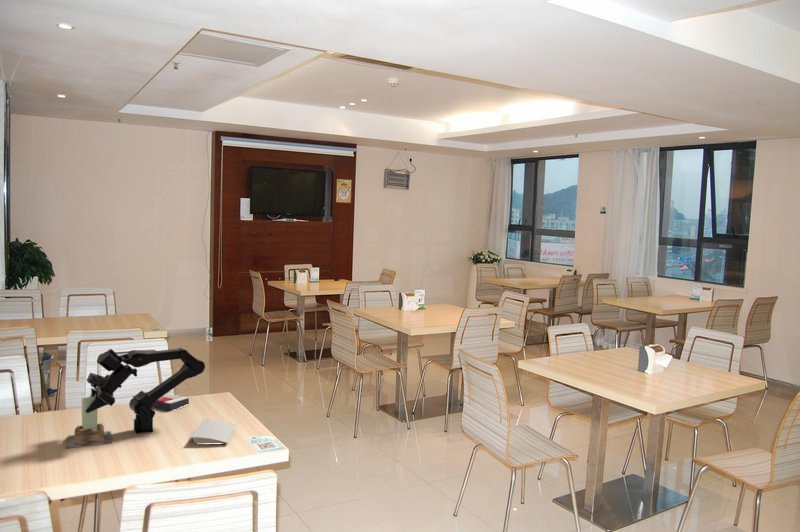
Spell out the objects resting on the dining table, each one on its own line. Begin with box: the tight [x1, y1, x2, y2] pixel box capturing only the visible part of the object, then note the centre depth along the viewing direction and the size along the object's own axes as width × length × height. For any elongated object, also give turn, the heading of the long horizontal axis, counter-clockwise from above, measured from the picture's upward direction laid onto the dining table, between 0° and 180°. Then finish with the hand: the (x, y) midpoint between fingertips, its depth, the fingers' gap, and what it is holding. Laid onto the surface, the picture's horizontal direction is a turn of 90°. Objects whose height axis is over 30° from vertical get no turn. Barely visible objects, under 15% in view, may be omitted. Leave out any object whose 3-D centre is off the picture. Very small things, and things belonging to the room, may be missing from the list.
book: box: [190, 418, 236, 444], centre depth 241 cm, size 15×23×4 cm, turn 5°
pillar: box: [81, 396, 98, 430], centre depth 231 cm, size 5×5×11 cm
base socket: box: [65, 422, 113, 449], centre depth 231 cm, size 15×12×5 cm
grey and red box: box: [152, 393, 190, 412], centre depth 276 cm, size 11×4×15 cm
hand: (85, 410), depth 230 cm, fingers closed on pillar, 5 cm apart
